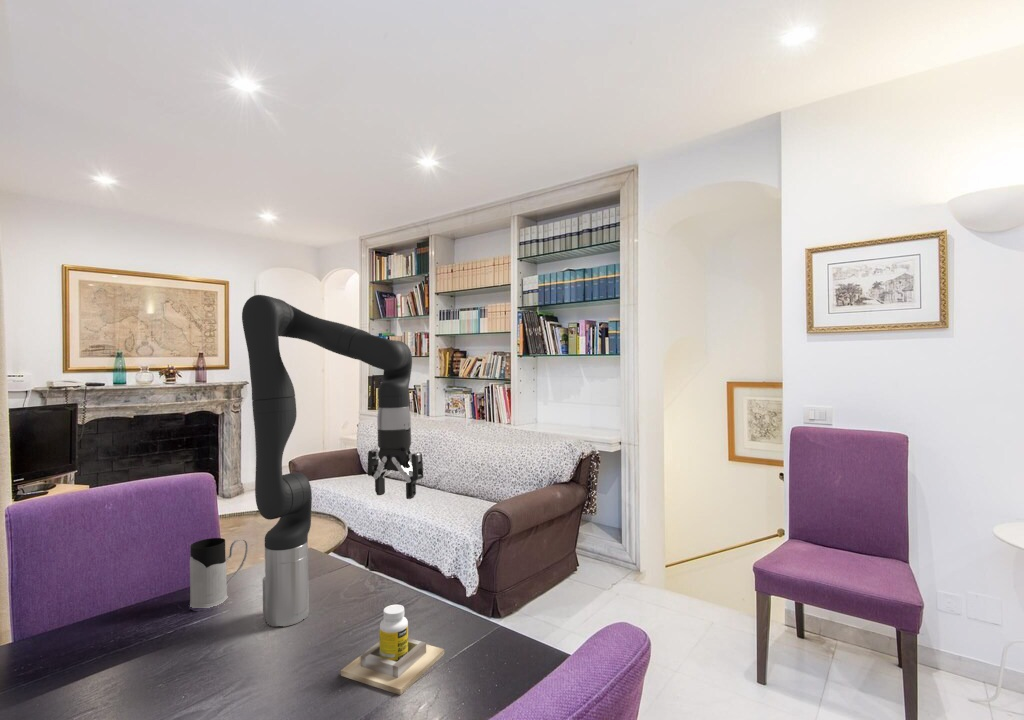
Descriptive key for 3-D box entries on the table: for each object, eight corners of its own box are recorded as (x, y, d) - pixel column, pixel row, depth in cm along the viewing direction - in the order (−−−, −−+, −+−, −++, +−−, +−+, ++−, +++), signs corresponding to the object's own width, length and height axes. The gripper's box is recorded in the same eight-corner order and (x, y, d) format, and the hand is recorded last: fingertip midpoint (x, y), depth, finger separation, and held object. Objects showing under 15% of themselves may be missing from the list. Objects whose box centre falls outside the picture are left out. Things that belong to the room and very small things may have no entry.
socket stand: (340, 675, 97) (340, 659, 97) (388, 639, 109) (388, 625, 109) (400, 695, 91) (400, 678, 91) (444, 654, 103) (443, 639, 103)
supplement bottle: (400, 669, 97) (399, 617, 97) (374, 665, 98) (374, 614, 98) (412, 653, 102) (412, 603, 102) (388, 649, 103) (387, 601, 104)
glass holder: (181, 605, 127) (180, 544, 127) (239, 584, 138) (238, 529, 139) (198, 615, 122) (197, 551, 122) (256, 592, 133) (256, 534, 134)
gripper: (359, 427, 118) (360, 497, 118) (409, 429, 112) (410, 503, 112) (380, 423, 125) (381, 490, 125) (429, 425, 119) (430, 495, 119)
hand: (395, 496), depth 119 cm, fingers open, 8 cm apart
